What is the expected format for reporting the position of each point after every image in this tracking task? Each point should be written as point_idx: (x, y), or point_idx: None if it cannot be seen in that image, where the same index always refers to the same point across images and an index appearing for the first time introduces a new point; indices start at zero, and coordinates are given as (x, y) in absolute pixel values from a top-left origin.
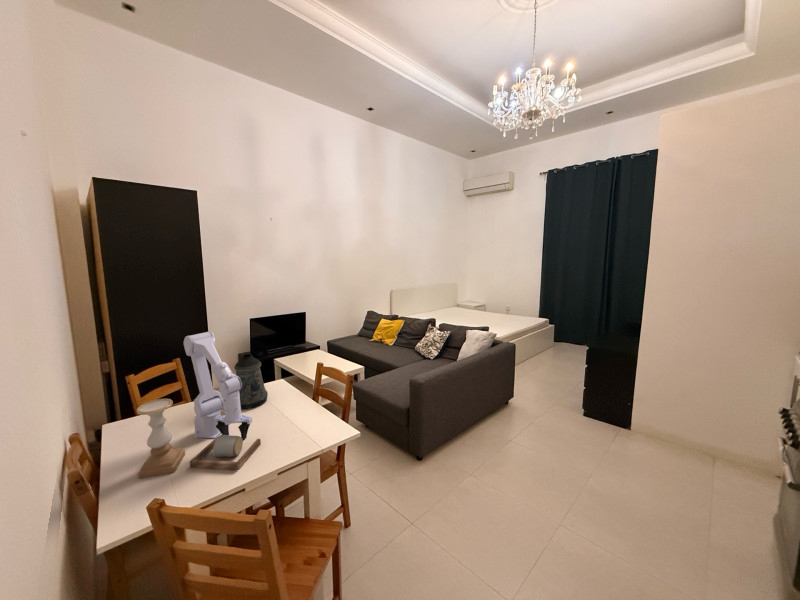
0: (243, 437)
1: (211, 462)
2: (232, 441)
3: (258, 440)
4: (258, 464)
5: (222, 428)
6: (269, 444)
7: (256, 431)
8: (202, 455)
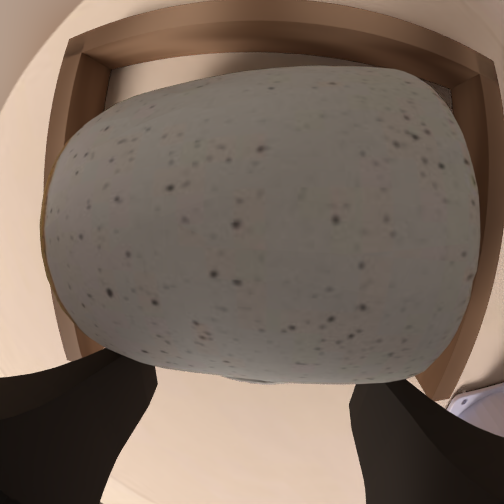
0: (105, 352)
1: (304, 1)
2: (77, 158)
3: (63, 340)
4: (25, 137)
5: (449, 482)
6: (53, 328)
7: (211, 458)
8: (473, 159)
